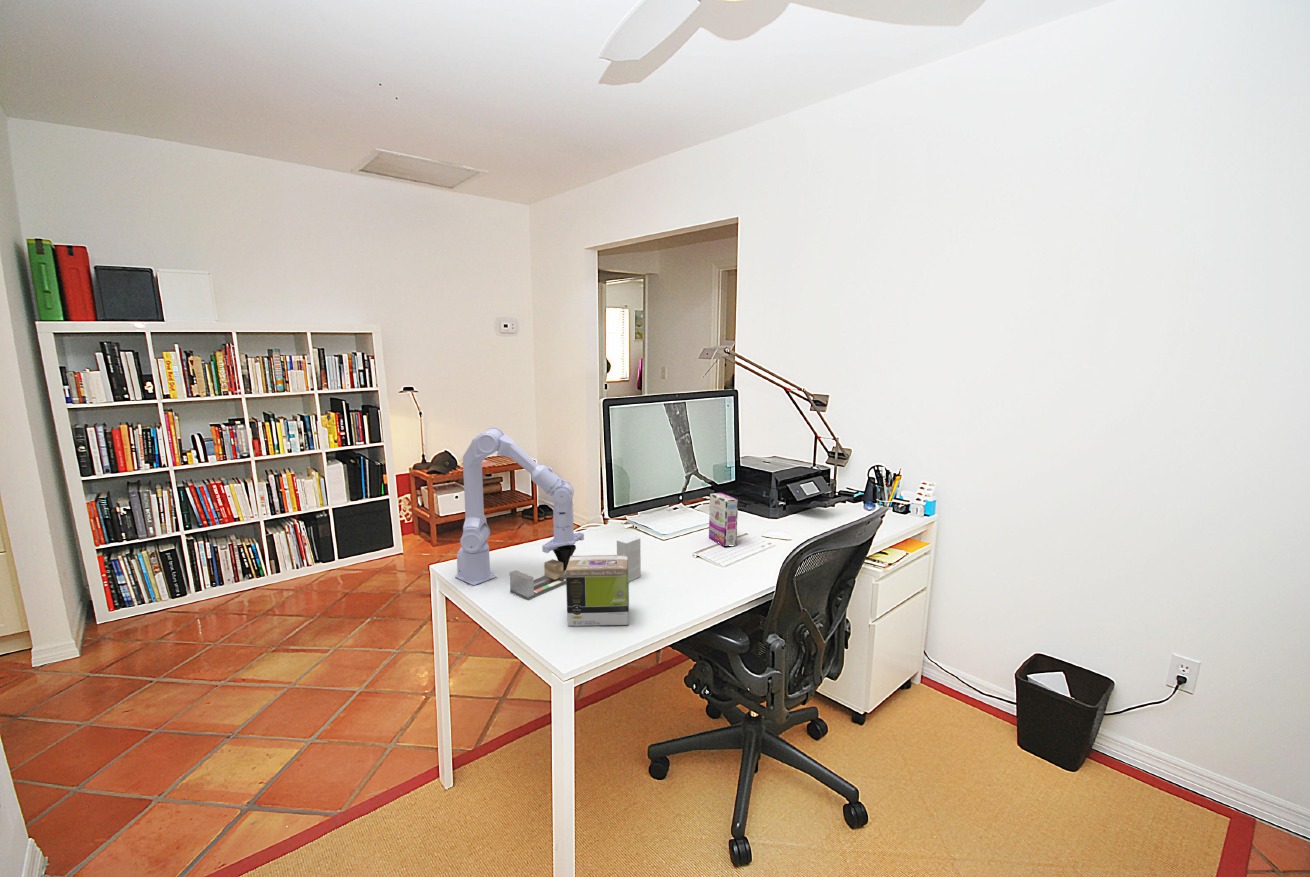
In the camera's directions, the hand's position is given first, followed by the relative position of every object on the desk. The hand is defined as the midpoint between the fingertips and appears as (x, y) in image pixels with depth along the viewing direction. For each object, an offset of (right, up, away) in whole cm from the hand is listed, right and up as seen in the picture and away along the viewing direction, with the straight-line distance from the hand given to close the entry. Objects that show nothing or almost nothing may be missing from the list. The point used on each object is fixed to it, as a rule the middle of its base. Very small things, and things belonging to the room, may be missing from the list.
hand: (564, 569), depth 166 cm
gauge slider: (-2, -2, -3) cm, 4 cm away
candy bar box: (+50, +2, +31) cm, 59 cm away
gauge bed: (-6, -3, -7) cm, 9 cm away
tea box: (+13, -7, -24) cm, 28 cm away
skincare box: (+19, -3, 0) cm, 19 cm away
